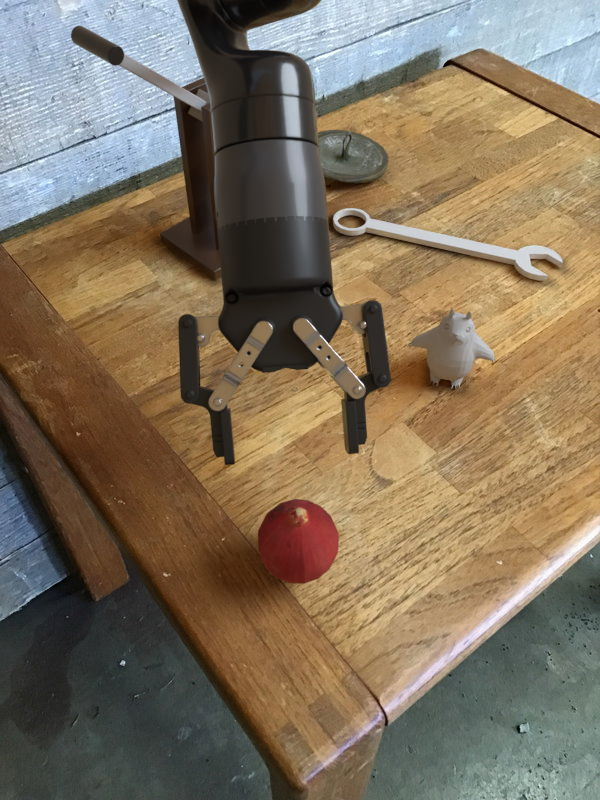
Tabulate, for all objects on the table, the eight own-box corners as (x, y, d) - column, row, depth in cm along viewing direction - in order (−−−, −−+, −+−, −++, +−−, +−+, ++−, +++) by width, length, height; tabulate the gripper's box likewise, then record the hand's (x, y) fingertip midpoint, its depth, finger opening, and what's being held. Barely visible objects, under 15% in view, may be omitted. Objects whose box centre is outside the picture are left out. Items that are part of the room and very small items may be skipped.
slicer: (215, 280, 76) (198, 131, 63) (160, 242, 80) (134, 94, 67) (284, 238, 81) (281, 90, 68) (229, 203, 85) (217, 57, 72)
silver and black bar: (103, 67, 55) (116, 36, 55) (65, 45, 58) (77, 15, 57) (231, 137, 69) (242, 113, 69) (196, 118, 71) (207, 94, 71)
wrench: (557, 284, 76) (563, 256, 78) (559, 279, 75) (565, 251, 78) (326, 232, 81) (340, 207, 84) (327, 228, 80) (340, 202, 83)
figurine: (399, 383, 67) (409, 321, 61) (409, 338, 71) (419, 276, 65) (488, 400, 66) (507, 338, 60) (493, 353, 69) (512, 291, 63)
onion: (243, 562, 55) (237, 506, 49) (300, 518, 58) (300, 459, 52) (295, 617, 53) (295, 565, 47) (352, 568, 55) (359, 512, 49)
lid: (298, 159, 93) (289, 126, 89) (372, 130, 93) (366, 96, 89) (323, 210, 87) (314, 177, 83) (402, 180, 87) (396, 145, 83)
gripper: (160, 219, 45) (185, 478, 47) (387, 204, 46) (404, 457, 48) (171, 236, 53) (192, 458, 54) (366, 222, 54) (382, 441, 55)
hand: (291, 457), depth 51 cm, fingers open, 8 cm apart
